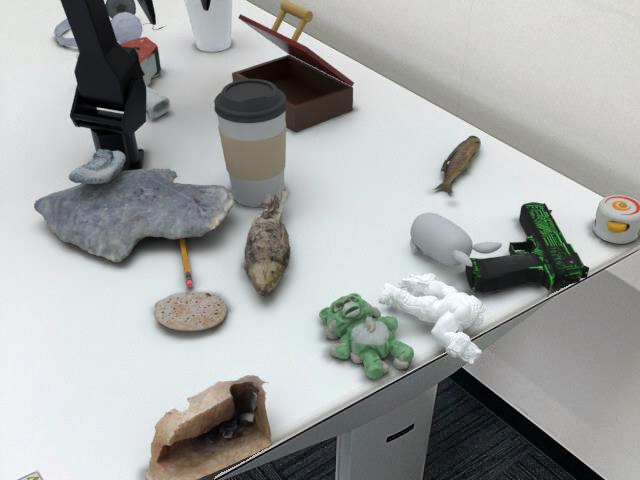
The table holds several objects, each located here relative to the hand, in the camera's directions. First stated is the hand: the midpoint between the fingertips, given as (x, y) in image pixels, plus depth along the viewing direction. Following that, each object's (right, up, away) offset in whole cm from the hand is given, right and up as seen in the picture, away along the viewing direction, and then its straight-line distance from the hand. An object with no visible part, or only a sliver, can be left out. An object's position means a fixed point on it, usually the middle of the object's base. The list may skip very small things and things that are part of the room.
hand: (180, 17), depth 115 cm
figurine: (+30, -45, -31) cm, 62 cm away
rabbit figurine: (+34, -35, -21) cm, 53 cm away
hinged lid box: (+16, -10, +8) cm, 21 cm away
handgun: (+38, -39, -24) cm, 60 cm away
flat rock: (+11, -34, -20) cm, 41 cm away
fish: (+44, -25, -8) cm, 51 cm away
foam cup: (+1, +6, +25) cm, 26 cm away
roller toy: (+61, -36, -21) cm, 74 cm away
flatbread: (+8, -47, -30) cm, 56 cm away
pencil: (+5, -37, -20) cm, 43 cm away
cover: (+17, -4, +3) cm, 18 cm away
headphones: (-19, +8, +27) cm, 34 cm away
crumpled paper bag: (+13, -62, -44) cm, 77 cm away
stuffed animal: (+27, -50, -33) cm, 66 cm away
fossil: (-3, -29, -22) cm, 36 cm away
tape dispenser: (-11, -8, +11) cm, 17 cm away
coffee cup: (+13, -29, -12) cm, 34 cm away
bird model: (+15, -35, -25) cm, 46 cm away
